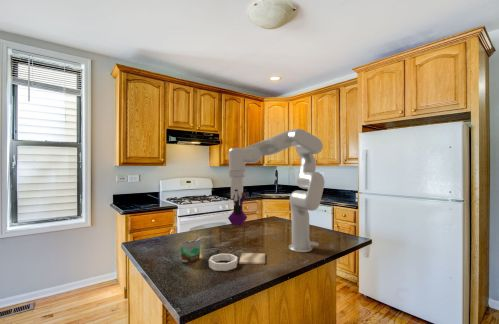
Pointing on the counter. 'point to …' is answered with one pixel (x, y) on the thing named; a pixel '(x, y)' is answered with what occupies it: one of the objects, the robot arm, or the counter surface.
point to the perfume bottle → (238, 218)
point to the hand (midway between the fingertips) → (238, 212)
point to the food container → (190, 250)
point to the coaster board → (252, 258)
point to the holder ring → (223, 266)
